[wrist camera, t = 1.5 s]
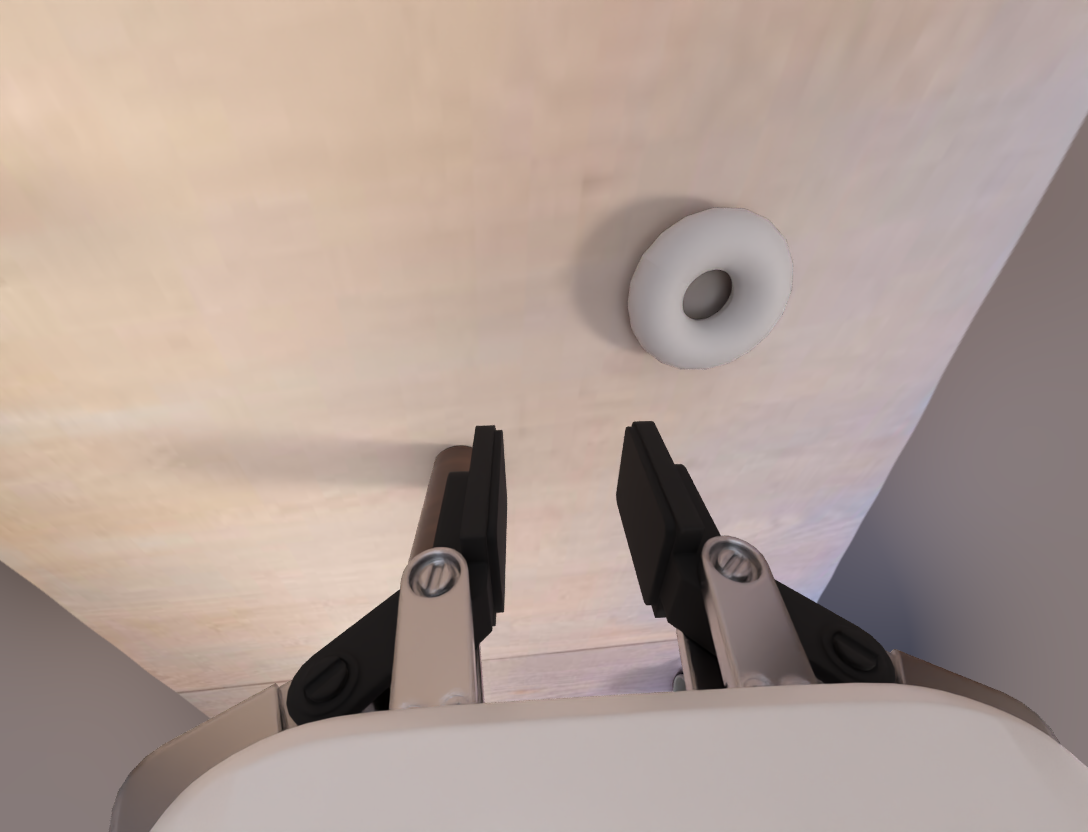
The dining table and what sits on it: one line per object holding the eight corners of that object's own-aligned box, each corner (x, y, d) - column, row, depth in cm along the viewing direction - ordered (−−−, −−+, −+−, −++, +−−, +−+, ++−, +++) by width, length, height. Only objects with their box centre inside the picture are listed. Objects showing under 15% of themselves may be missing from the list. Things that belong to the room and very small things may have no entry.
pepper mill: (470, 436, 33) (436, 649, 19) (502, 474, 35) (492, 688, 21) (422, 460, 34) (356, 678, 20) (456, 495, 36) (418, 711, 22)
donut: (732, 364, 30) (806, 221, 25) (754, 389, 28) (843, 232, 22) (604, 344, 29) (652, 185, 23) (613, 367, 26) (670, 193, 20)
